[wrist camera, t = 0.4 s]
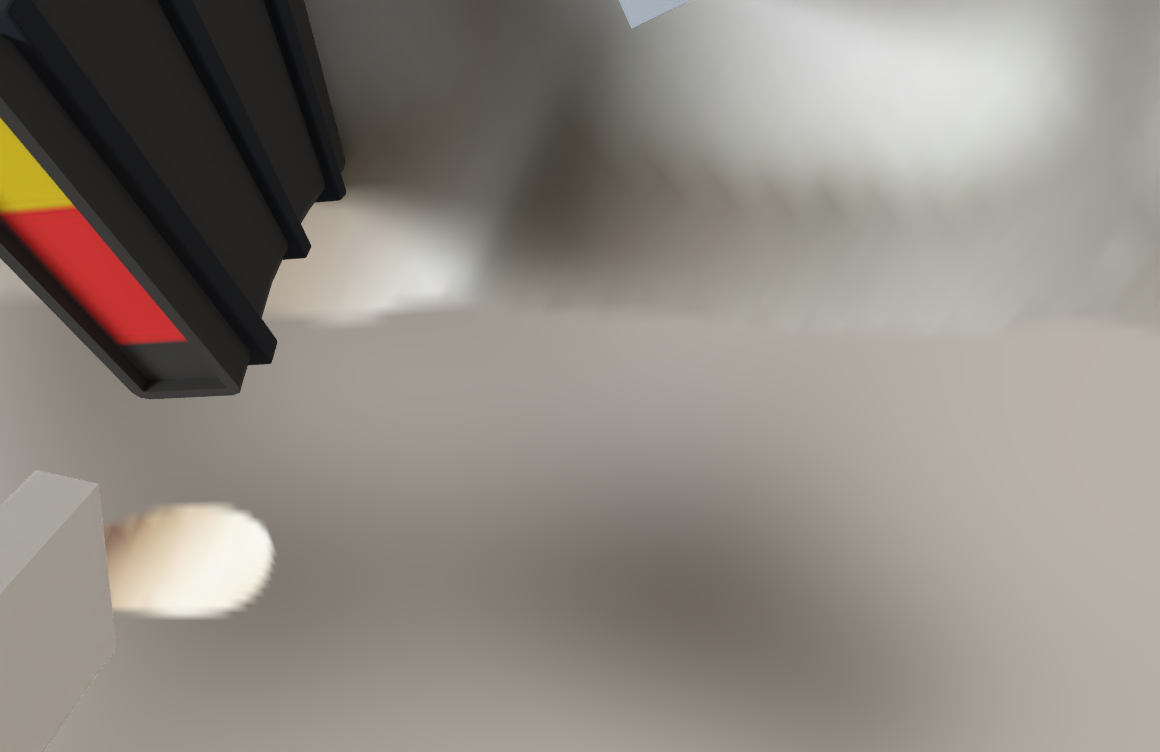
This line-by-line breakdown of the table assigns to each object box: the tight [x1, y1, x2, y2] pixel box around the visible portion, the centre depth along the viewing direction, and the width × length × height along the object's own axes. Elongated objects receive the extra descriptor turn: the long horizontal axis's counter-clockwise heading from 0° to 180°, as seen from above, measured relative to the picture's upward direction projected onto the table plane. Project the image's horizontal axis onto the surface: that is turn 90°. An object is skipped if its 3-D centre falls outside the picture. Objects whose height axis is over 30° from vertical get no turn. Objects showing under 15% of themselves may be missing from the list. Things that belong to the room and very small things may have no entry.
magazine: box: [0, 0, 346, 399], centre depth 28 cm, size 4×13×15 cm, turn 8°
